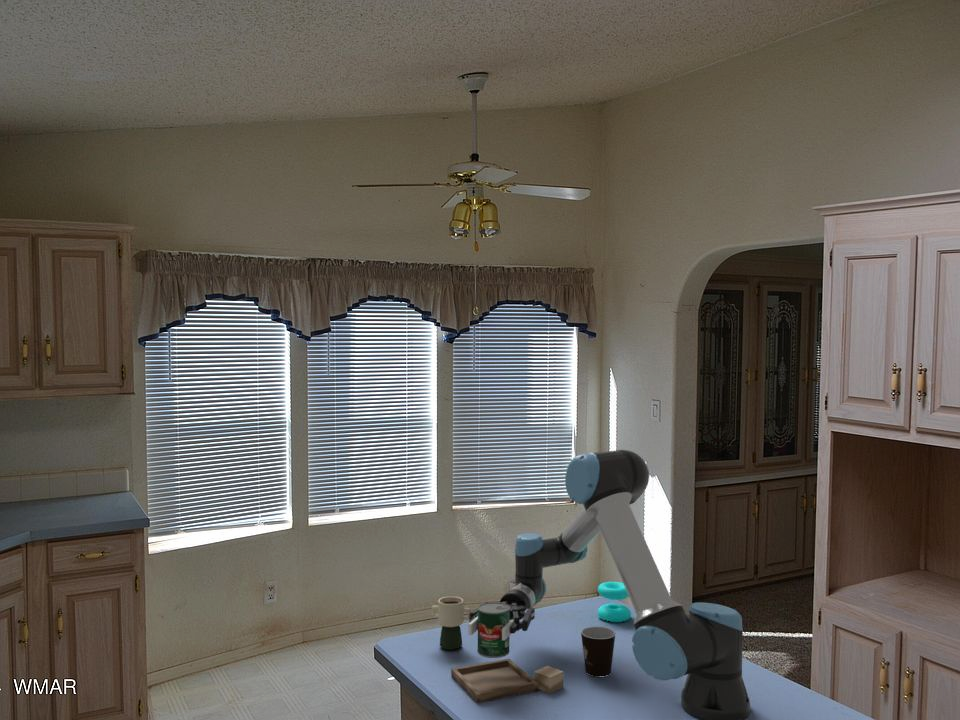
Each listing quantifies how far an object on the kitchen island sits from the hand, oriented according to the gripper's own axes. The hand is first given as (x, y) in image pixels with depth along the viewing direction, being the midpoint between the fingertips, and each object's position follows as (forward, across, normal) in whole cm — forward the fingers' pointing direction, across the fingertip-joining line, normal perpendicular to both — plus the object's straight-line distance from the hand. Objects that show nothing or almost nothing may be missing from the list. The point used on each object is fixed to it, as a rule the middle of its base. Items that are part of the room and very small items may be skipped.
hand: (486, 632), depth 191 cm
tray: (-5, 0, +14) cm, 15 cm away
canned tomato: (-5, 0, +7) cm, 8 cm away
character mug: (-22, -19, +15) cm, 33 cm away
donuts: (-62, +18, +15) cm, 66 cm away
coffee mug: (-22, +22, +14) cm, 35 cm away
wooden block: (-8, +13, +14) cm, 21 cm away
